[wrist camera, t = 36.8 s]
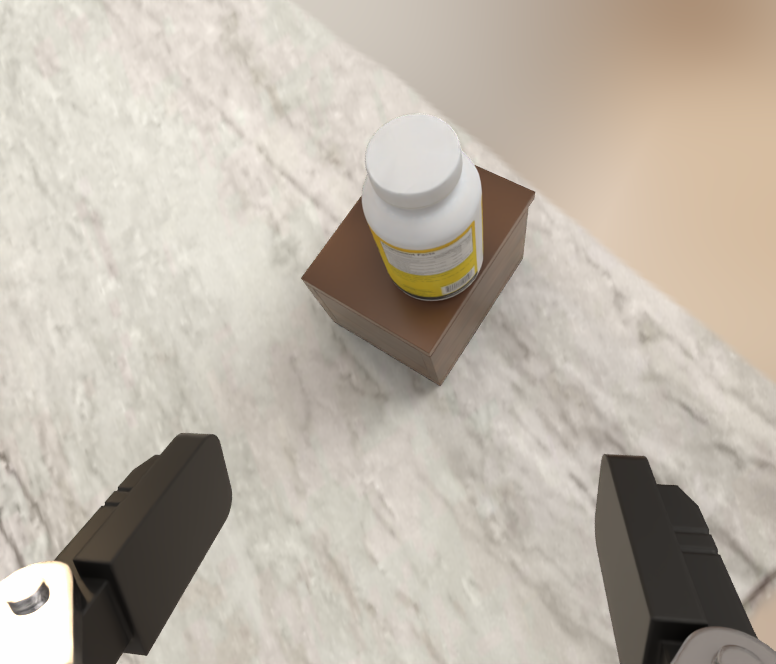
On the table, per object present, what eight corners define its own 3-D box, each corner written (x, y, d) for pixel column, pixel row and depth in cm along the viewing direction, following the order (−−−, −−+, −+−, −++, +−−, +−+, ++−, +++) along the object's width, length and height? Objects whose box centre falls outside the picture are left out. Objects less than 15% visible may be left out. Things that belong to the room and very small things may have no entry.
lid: (407, 141, 42) (406, 134, 42) (534, 198, 39) (535, 191, 38) (303, 283, 40) (300, 278, 39) (430, 357, 36) (428, 353, 36)
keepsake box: (415, 204, 49) (401, 149, 42) (523, 258, 46) (528, 206, 39) (333, 321, 47) (304, 283, 40) (440, 386, 44) (430, 357, 36)
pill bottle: (428, 201, 39) (404, 76, 28) (503, 250, 37) (509, 134, 26) (367, 270, 38) (319, 167, 28) (441, 324, 36) (420, 235, 25)
